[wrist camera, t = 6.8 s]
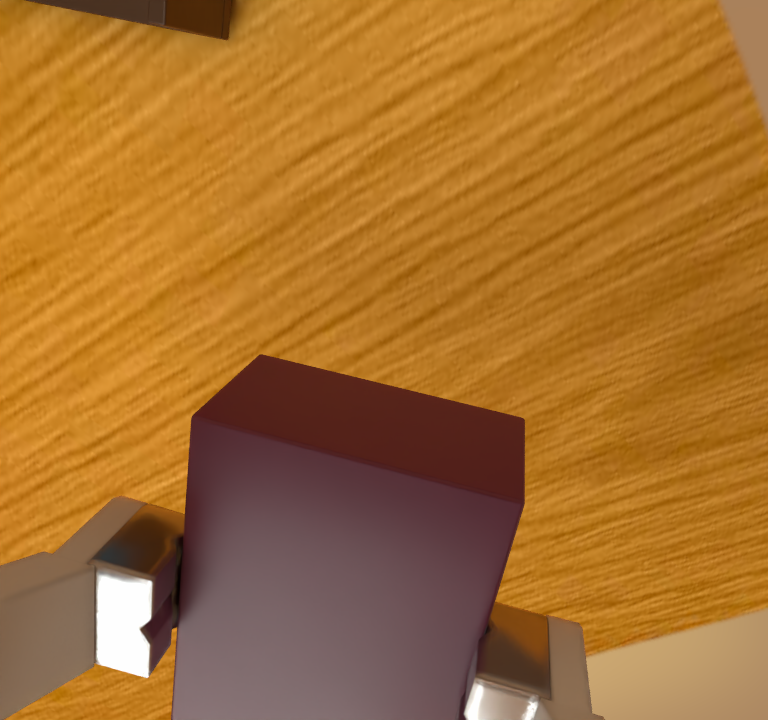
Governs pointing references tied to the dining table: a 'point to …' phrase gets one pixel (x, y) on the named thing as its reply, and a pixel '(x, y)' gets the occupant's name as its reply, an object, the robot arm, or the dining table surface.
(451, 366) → the dining table surface
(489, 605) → the block
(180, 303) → the dining table surface
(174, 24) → the dark brown open tray
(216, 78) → the dining table surface
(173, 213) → the dining table surface
